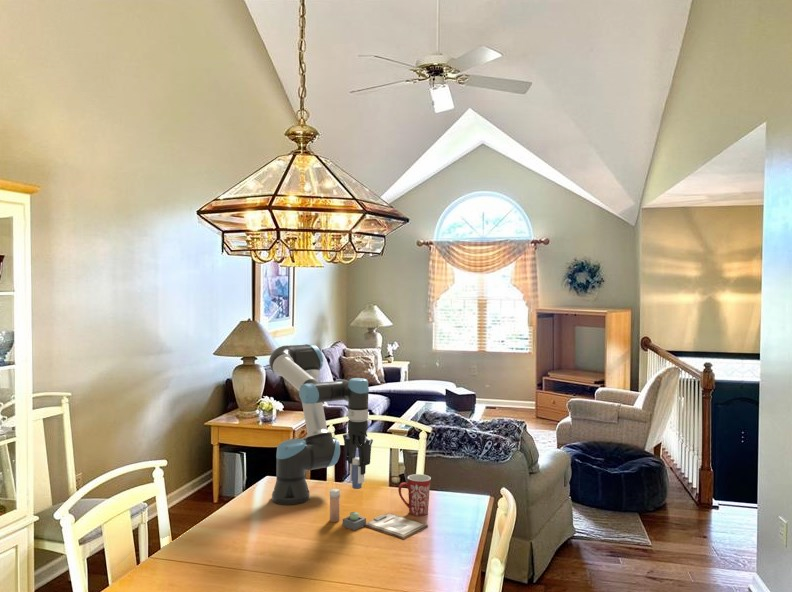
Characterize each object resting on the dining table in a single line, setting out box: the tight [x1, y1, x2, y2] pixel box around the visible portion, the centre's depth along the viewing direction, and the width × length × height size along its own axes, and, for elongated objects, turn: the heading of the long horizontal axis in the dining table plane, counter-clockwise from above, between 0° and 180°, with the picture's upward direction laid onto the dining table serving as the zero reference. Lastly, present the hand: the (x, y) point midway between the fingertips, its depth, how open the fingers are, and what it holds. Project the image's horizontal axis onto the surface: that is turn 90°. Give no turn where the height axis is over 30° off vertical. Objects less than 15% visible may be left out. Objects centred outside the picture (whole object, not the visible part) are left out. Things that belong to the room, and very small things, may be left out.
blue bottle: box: [351, 456, 362, 490], centre depth 223 cm, size 4×4×11 cm
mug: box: [397, 473, 432, 517], centre depth 226 cm, size 13×9×14 cm
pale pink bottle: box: [329, 488, 341, 523], centre depth 217 cm, size 4×4×11 cm
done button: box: [349, 511, 360, 522], centre depth 213 cm, size 3×3×2 cm
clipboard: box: [363, 512, 429, 540], centre depth 212 cm, size 18×14×2 cm
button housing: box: [342, 515, 367, 531], centre depth 213 cm, size 6×6×2 cm
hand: (356, 481), depth 223 cm, fingers closed on blue bottle, 3 cm apart
